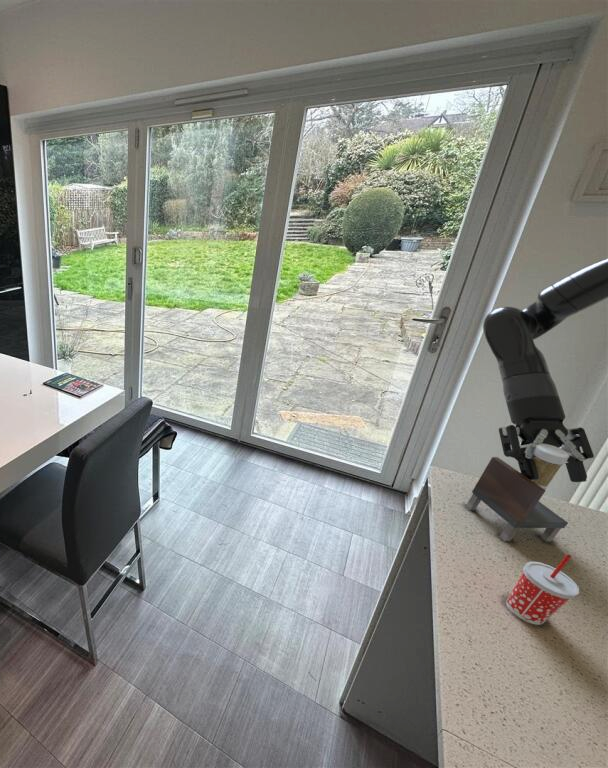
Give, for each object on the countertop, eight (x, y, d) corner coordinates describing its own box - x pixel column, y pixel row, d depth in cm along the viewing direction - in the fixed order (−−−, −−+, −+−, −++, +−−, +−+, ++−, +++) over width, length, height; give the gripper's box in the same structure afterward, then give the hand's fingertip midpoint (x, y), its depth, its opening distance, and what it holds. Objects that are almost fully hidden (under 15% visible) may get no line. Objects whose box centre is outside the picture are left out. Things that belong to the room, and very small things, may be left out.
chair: (506, 508, 90) (539, 457, 84) (551, 544, 82) (592, 491, 75) (462, 507, 90) (492, 456, 84) (503, 544, 81) (539, 490, 75)
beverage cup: (554, 620, 67) (604, 562, 61) (539, 638, 64) (591, 579, 58) (507, 591, 72) (549, 534, 65) (492, 606, 69) (534, 548, 63)
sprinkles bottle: (535, 514, 80) (574, 459, 74) (505, 505, 83) (541, 451, 76) (528, 500, 84) (565, 447, 78) (499, 492, 86) (533, 439, 80)
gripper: (510, 392, 80) (534, 477, 75) (589, 395, 79) (618, 480, 74) (479, 403, 87) (498, 480, 82) (551, 405, 86) (575, 484, 81)
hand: (555, 480), depth 78 cm, fingers open, 8 cm apart
